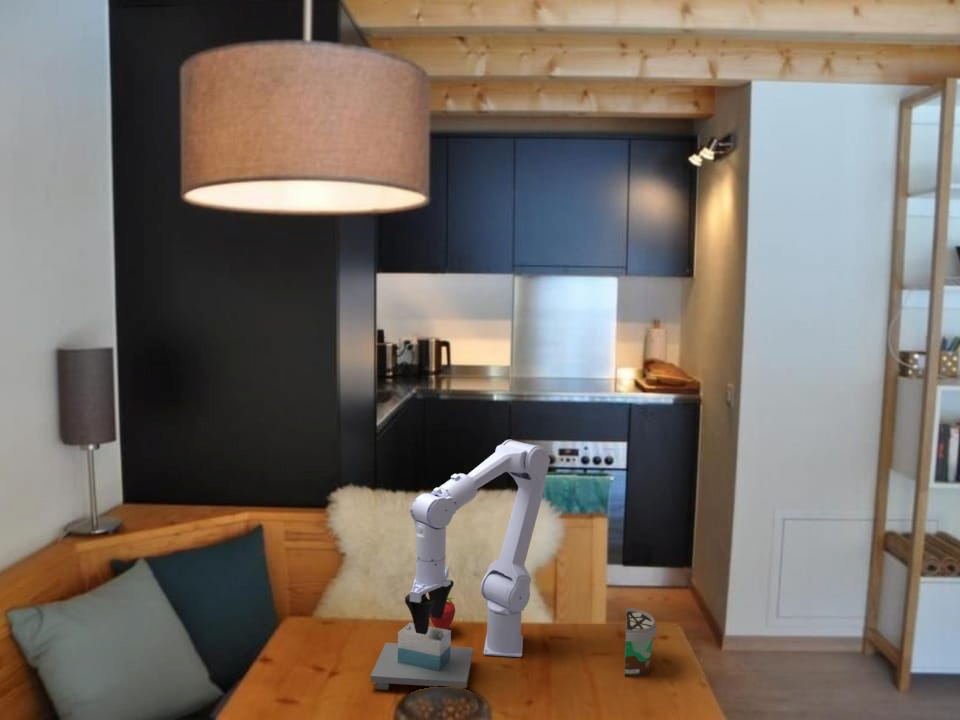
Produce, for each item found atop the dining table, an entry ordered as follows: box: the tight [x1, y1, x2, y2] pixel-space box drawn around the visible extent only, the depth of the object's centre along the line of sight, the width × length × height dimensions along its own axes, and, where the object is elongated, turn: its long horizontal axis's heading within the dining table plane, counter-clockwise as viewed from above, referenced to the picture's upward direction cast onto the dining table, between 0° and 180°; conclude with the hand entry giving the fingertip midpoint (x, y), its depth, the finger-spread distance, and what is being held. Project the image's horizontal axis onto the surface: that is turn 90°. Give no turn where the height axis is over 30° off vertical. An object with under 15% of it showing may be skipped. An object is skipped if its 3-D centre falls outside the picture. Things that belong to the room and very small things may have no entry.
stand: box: [369, 642, 474, 691], centre depth 145 cm, size 14×18×3 cm
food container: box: [623, 607, 658, 678], centre depth 150 cm, size 12×6×10 cm, turn 168°
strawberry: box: [429, 597, 456, 630], centre depth 163 cm, size 6×8×10 cm
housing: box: [397, 622, 452, 672], centre depth 144 cm, size 5×9×6 cm, turn 69°
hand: (429, 625), depth 144 cm, fingers open, 7 cm apart
